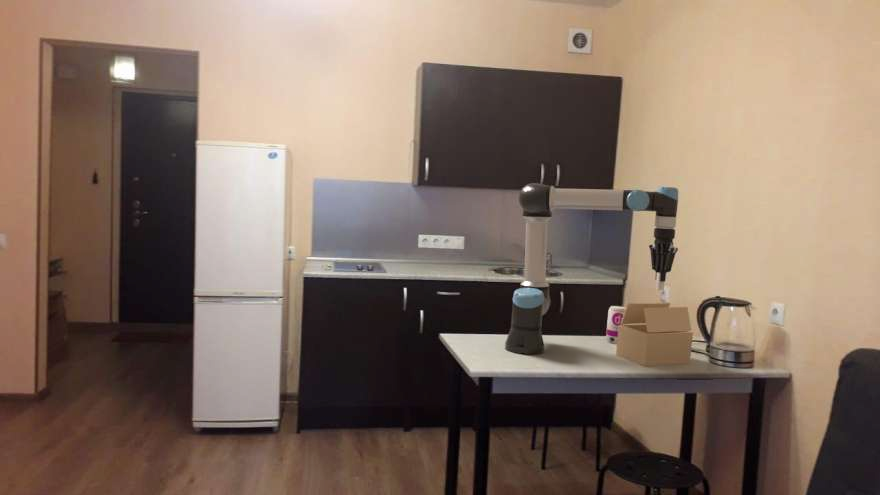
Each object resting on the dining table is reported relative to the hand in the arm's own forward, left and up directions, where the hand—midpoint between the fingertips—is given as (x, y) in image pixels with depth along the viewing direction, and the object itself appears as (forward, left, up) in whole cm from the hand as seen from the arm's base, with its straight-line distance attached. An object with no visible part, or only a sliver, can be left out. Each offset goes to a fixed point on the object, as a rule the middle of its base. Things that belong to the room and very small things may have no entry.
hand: (659, 289), depth 244 cm
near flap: (0, -6, -10) cm, 12 cm away
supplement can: (+4, +27, -27) cm, 39 cm away
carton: (0, 0, -27) cm, 27 cm away
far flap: (0, +6, -10) cm, 12 cm away
